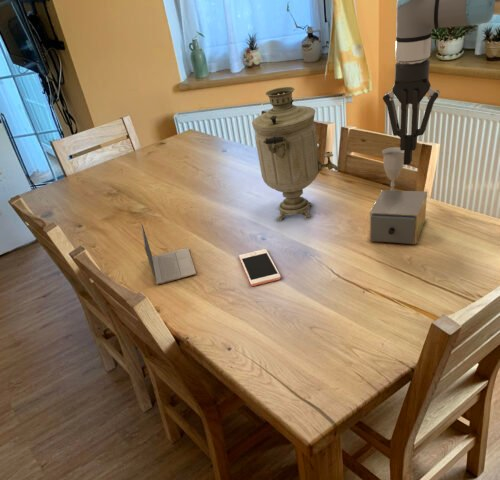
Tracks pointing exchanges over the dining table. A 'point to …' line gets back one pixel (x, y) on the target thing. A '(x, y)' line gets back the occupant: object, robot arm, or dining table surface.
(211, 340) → the dining table surface
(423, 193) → the cabinet
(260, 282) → the cell phone
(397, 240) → the drawer
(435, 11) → the robot arm
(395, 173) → the chalice
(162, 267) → the laptop
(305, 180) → the samovar
